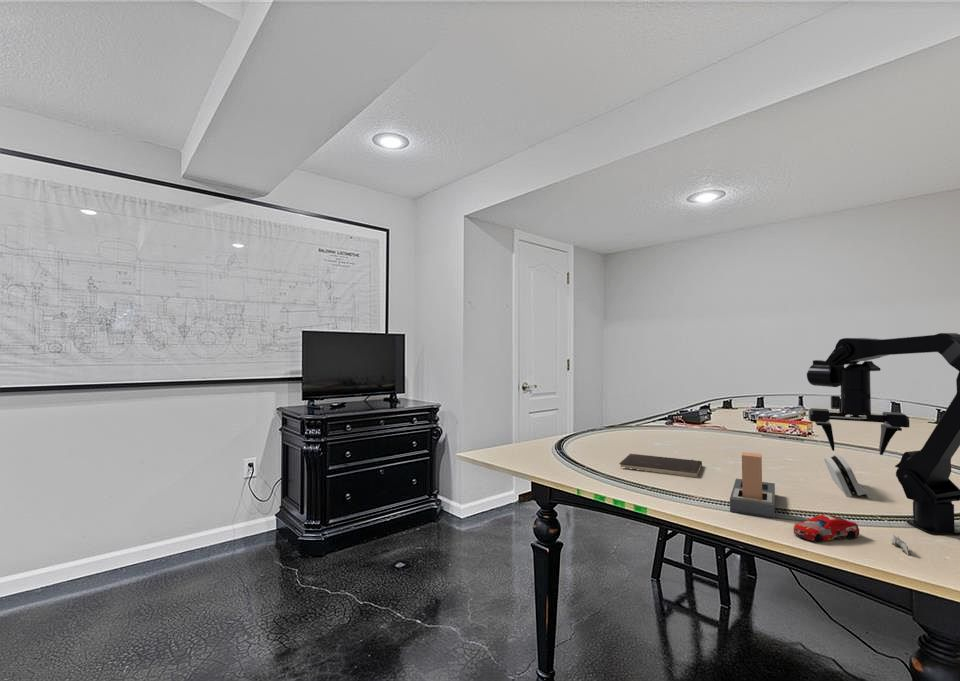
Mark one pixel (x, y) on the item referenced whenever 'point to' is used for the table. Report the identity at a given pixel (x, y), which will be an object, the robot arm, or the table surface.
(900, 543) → the small metal piece
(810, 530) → the race car
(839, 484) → the white slotted holder
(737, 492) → the block with square holes
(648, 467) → the hardcover book
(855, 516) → the table surface
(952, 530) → the robot arm
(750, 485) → the peg
